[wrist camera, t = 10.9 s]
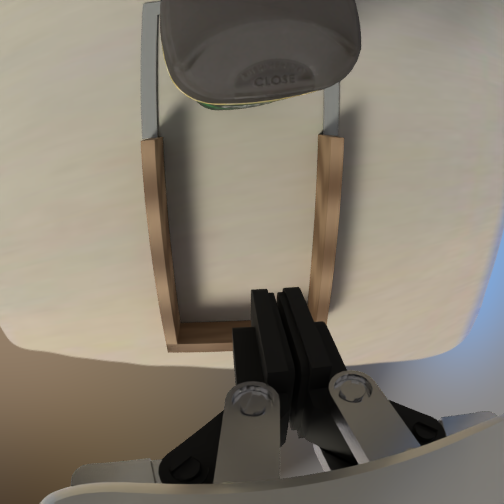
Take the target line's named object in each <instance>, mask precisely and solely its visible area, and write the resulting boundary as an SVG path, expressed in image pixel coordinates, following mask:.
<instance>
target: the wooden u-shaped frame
mask: <svg viewBox="0 0 504 504" xmlns="http://www.w3.org/2000/svg"><path fill="white" fill-rule="evenodd" d="M343 151H344V138H342V137H337V136H332V135H318V160H317V184H316V203H315V220H314V235H313V249H312V261H311V273H310V285H309V296H308V308H309V311H310V313H311V316H312V318H313V320H314V322H319V321H323V322H325V324H327V318H328V311H329V304H330V296H331V289H332V281H333V272H334V264H335V255H336V245H337V235H338V224H339V213H340V200H341V186H342V170H343ZM141 154H142V169H143V182H144V193H145V204H146V214H147V223H148V231H149V240H150V248H151V255H152V262H153V270H154V276H155V283H156V289H157V295H158V301H159V307H160V313H161V319H162V324H163V329H164V335H165V340H166V345H167V350H168V352H219V351H233V339H232V328H237V327H251V320H247V321H225V322H194V323H180V316H179V309H178V302H177V294H176V286H175V278H174V270H173V261H172V252H171V243H170V233H169V222H168V211H167V198H166V185H165V169H164V151H163V137H157V138H149V139H146V140H142V141H141Z"/></svg>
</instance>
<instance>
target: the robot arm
mask: <svg viewBox="0 0 504 504" xmlns="http://www.w3.org/2000/svg"><path fill="white" fill-rule="evenodd" d="M232 339H233V357H234V371H235V383H236V386H234V387H233V388H232V389H231V390H230V391H229V392H228V394H227V397H226V399H225V407H224V410H223V411H222V412H221V413H220V414H218V415H217V416H216V417H215V418H213V419H212V420H211V421H210V422H208V423H207V424H206V425H205V426H203V427H202V428H201V429H200V430H198V431H197V432H196V433H195V434H193V435H192V436H191V437H189V438H188V439H187V440H185V441H184V442H183V443H182V444H180V445H179V446H178V447H176V448H175V449H174V450H172V451H171V452H170V453H168V454H167V455H166V456H165V457H164V458H163V459H161V460H154V461H151V460H150V458H147V459H139V460H131V461H122V462H112V463H97V464H87V465H83V466H81V467H80V468H78V469H76V471H75V472H74V474H73V475H72V480H71V487H67V488H64V489H61V490H58V491H55V492H53V493H51V494H49V495H48V496H47V497H45V498H44V499H43V501H42V502H41V503H40V504H504V414H502V415H499V416H497V415H496V414H495V413H492V412H490V411H482V412H476V413H469V414H463V415H456V416H448V417H441V418H440V420H439V421H437V420H436V419H434V418H433V417H431V416H428V415H425V414H422V413H420V412H417V411H415V410H412V409H410V408H407V407H405V406H403V405H400V404H398V403H395V402H393V401H390V400H388V399H387V398H386V396H385V395H384V393H383V392H382V391H381V389H380V388H379V387H378V385H377V384H376V382H375V381H374V380H373V379H372V378H371V377H370V376H368V375H367V374H365V373H362V372H359V371H352V370H349V371H347V369H346V367H345V365H344V363H343V361H342V358H341V356H340V354H339V352H338V349H337V347H336V345H335V343H334V341H333V338H332V336H331V334H330V332H329V330H328V328H327V325H326V324H325V322H323V321H319V322H314V320H313V318H312V316H311V313H310V311H309V308H308V306H307V304H306V301H305V299H304V297H303V294H302V292H301V290H300V288H299V287H292V288H283V292H278V293H277V303H276V299H275V296H274V293H268V290H267V289H257V290H251V327H237V328H232ZM288 422H290V427H291V430H297V433H298V436H299V438H305V439H306V440H308V441H309V442H311V443H313V444H314V445H313V447H314V451H315V453H316V455H317V457H318V459H319V461H320V463H321V466H322V467H323V470H324V472H322V473H316V474H310V475H304V476H298V477H291V478H283V479H280V447H281V446H282V445H283V444H284V443H285V440H286V435H287V429H288Z"/></svg>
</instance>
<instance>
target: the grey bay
mask: <svg viewBox="0 0 504 504" xmlns="http://www.w3.org/2000/svg"><path fill="white" fill-rule="evenodd" d="M160 3H161V2H153V3H146V4H143V12H142V34H141V119H142V139H146V138H157V137H158V130H157V90H156V58H157V20H158V15H160ZM338 119H339V82H338V83H336V84H335V85H333V86H331V87H328V88H326V89H324V119H323V135H335V136H338Z"/></svg>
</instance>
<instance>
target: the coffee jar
mask: <svg viewBox="0 0 504 504" xmlns="http://www.w3.org/2000/svg"><path fill="white" fill-rule="evenodd" d="M160 33H161V41H162V49H163V55H164V60H165V63H166V67H167V70H168V73H169V75H170V78H171V79H172V81H173V83H174V84H175V86H176V87H177V88H178V89H179V90H180V91H181V92H182V93H184V94H185V95H186V96H188V97H189V98H191V99H194V100H196V101H197V102H198V103H199V104H200V105H202V106H203V107H205V108H208V109H211V110H233V109H242V108H249V107H255V106H260V105H264V104H268V103H272V102H274V101H278V100H283V99H286V98H291V97H295V96H300V95H304V94H308V93H312V92H315V91H318V90H322V89H326V88H328V87H331V86H333V85H335V84H336V83H338V82H340V81H341V80H342V79H344V78H345V77H346V76H347V75H348V74H349V73H350V72H351V70H352V69H353V67H354V65H355V63H356V62H357V59H358V57H359V54H360V50H361V31H360V23H359V17H358V12H357V7H356V3H355V0H161V3H160Z"/></svg>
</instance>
